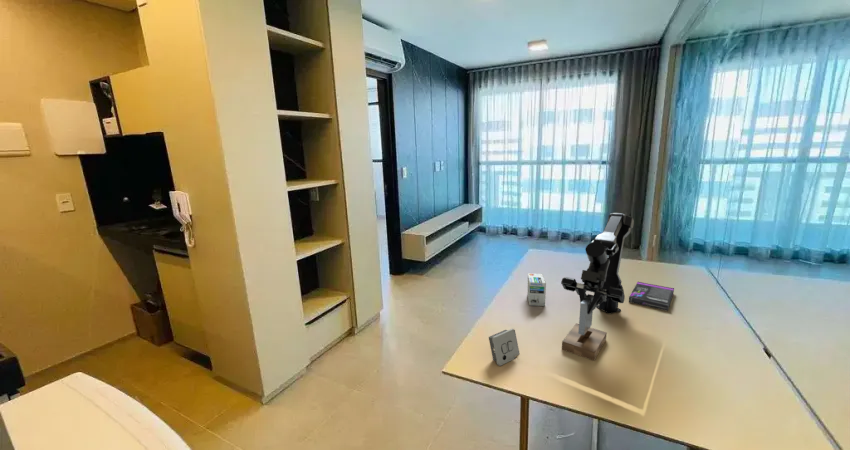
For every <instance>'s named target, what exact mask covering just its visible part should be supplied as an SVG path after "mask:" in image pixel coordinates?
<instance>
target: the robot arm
mask: <svg viewBox="0 0 850 450" xmlns="http://www.w3.org/2000/svg"><path fill="white" fill-rule="evenodd" d="M634 220H635V219H634V218H633V217H631V216H630V215H629V216H628V215H627V214H624V213H621V212H612V213H611V212H610V214H609V215H608V218H607V223H606V226H605V228H604V229H603V231H602V232H601V233H599V234H597V235H596V236H595V238H594V239H593V240H592V241H591V242H590V243H588V244H587V245H586V246H585V249H584V250H585V254H586V256H587V259H588V261H589V265H588V267H587V269H586V270H585V269H582V271H581V275H580V276H581V277H580V280H581V283H580V282H577V280H576V278H574V277H568V276H564V277H563V278H562V279H561V282H560V283H561V284H560V285H561V286H562V287H563V290H565V291H571V292H576V294H577V295H578V296H579V303H581V302H582V301H583V300H584V298H585V297H586V296H587V295H588V294H587V292H590V293H593V295H594V296H593V299H592V302H591V304H590V307H589V310H588V314H590V313H591V312H592V311H594V310H595V309H596V308H597V309H599V310H601V311H603V312H605V313H607V314H613V313H617V312H622V309H621V308H619V304H624V302H625V299H626V296H625V291H624V288H623V285H622V279H621V277H620V274H619V272H620V265H621V260H622V255H623V250H624V249H623V248H624V243H625V238H627V237H628V236H629V235H630V234H631V231H632V229H633V228H634V224H635V221H634Z"/></svg>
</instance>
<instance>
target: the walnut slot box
mask: <svg viewBox="0 0 850 450" xmlns="http://www.w3.org/2000/svg"><path fill="white" fill-rule="evenodd" d="M578 332H579V323H575V324H574V325H573V326H572V328H571V329H570V330H569V332H568V333H567V334H566V336H565V337H564V338H563V340H561V350H563V351H566V352H569V353H571V354H574V355H577V356H580V357H583V358H586V359H587V360H591V361H595V360H596V358H597V357H598V355H599V353H600V351H601V350H602V348H603V346H604V344H605V343H606V341H607V334H608V332H606V331H605V330H604V331H603V330H600V329H596V328H593V327H590V328H589V329H588V331H587V332H586V334H585V335H581V334H578Z"/></svg>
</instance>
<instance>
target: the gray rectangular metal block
mask: <svg viewBox="0 0 850 450" xmlns="http://www.w3.org/2000/svg"><path fill="white" fill-rule="evenodd" d="M586 295H587V296H586V297H585V298H584V300H583V301H582V302H581V303H580V302H579V303H580V304H579V305H580V307H579V318H578V319H579V321H578V324H579V332H578V334H581V335H585V334H586V332H587V331H588V329H589V328H592V325H593V323H592V322H593V313H594V312H593V311H594V310H593V311H592V312H591V313H590V314H588V310H589V307H590V304H591V302H592V299H593V296H594V294H589V293H588V294H586Z"/></svg>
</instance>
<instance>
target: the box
mask: <svg viewBox="0 0 850 450" xmlns="http://www.w3.org/2000/svg"><path fill="white" fill-rule="evenodd" d="M674 292H675V287H671V286H670V287H669V286H663V285H657V284H652V283H648V282H647V283H646V282H642V281H637V282H636V284H635V285H634V288H633V290H632V292H631V293H630V294H629V296H628V297H629V298H628V303H632V304H636V305H640V306H645V307H649V308H653V309H657V310H661V311H666V312H668V311H669V309H670V307H671V303H672V299H673V297H674Z"/></svg>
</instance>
